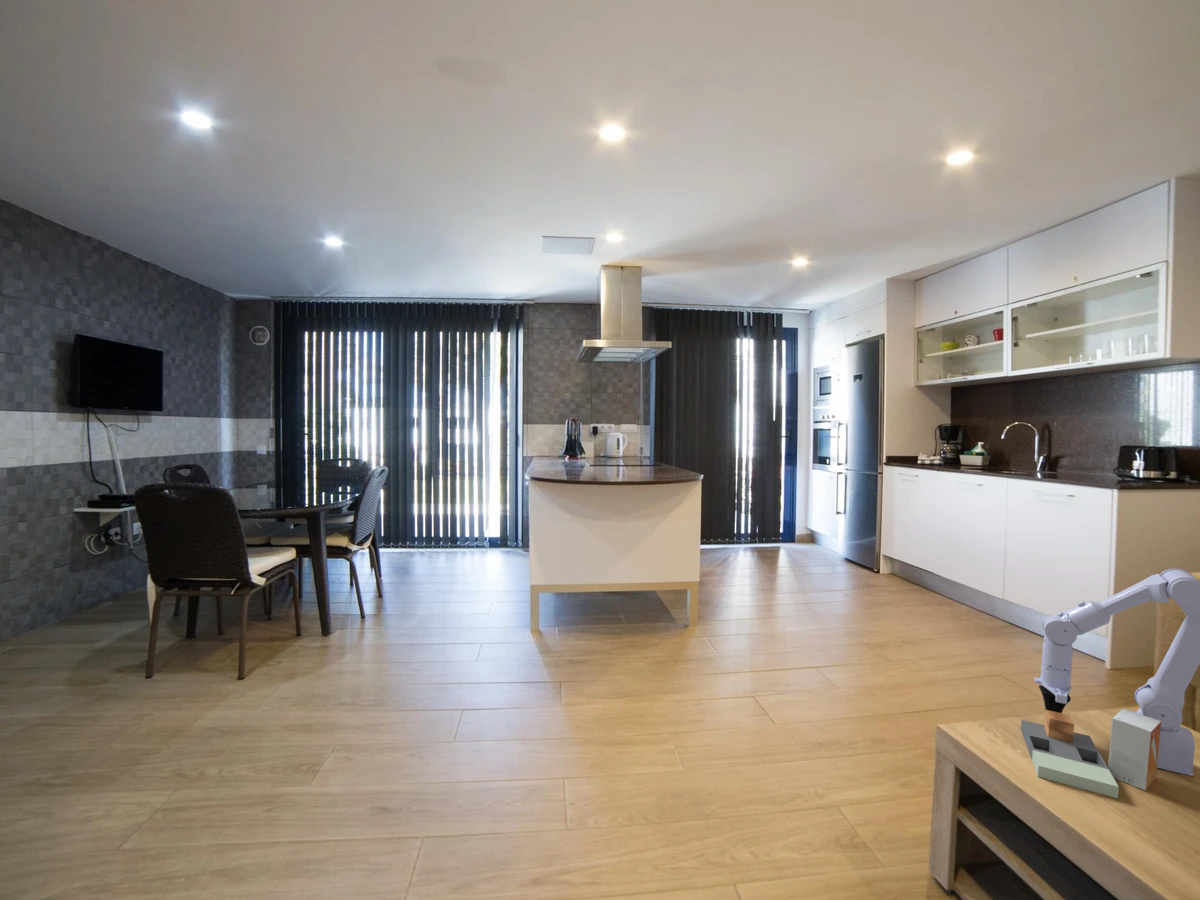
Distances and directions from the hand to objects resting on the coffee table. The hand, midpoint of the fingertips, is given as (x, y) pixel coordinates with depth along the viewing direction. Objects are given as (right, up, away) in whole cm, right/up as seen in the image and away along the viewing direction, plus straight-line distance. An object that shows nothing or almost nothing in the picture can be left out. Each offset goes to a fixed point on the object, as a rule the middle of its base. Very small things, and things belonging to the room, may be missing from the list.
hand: (1052, 718), depth 136 cm
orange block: (-3, -1, -5) cm, 6 cm away
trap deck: (-7, -4, -11) cm, 14 cm away
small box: (+4, -5, -17) cm, 18 cm away
